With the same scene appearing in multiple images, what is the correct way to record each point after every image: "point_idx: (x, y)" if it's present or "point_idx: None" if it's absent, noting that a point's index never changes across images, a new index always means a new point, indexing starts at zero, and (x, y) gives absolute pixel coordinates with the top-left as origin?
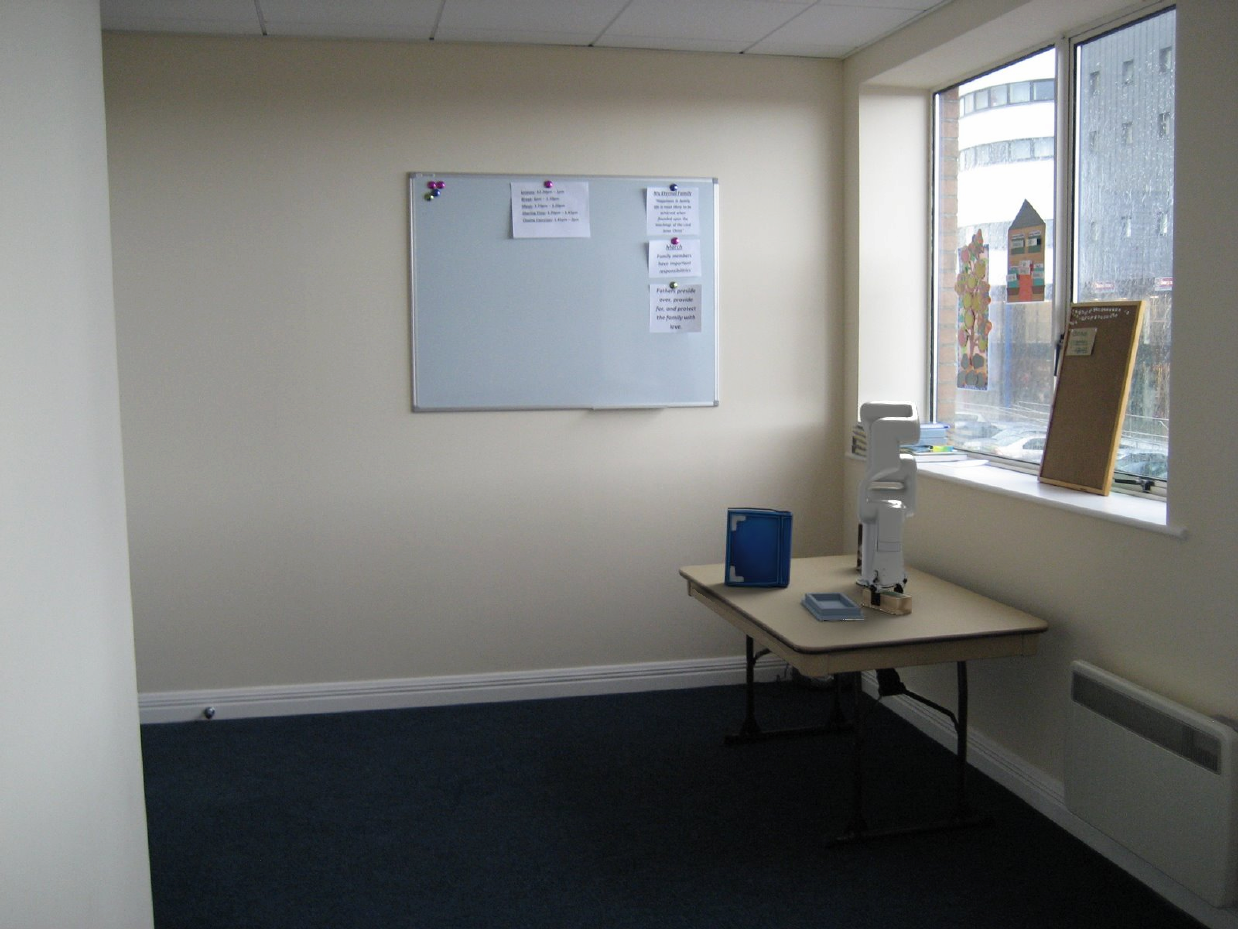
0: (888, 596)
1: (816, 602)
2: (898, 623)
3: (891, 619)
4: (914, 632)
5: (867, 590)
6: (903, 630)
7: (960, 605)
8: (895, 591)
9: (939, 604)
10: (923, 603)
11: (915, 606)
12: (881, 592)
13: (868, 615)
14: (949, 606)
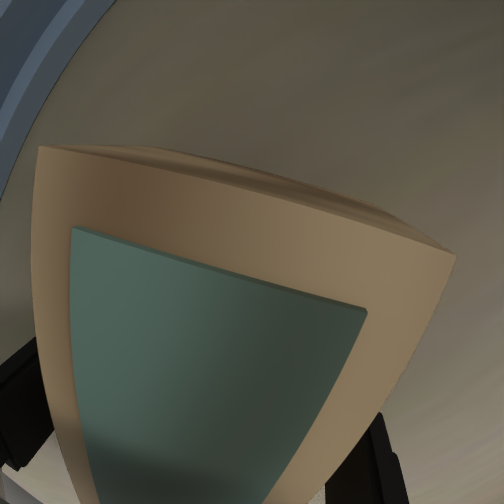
0: (80, 500)
1: None
2: (52, 468)
3: (59, 446)
4: (46, 496)
5: (39, 252)
6: (28, 477)
7: (497, 498)
8: (357, 500)
9: (497, 471)
10: (499, 435)
11: (412, 457)
12: (103, 460)
13: (5, 346)
14: (472, 500)
